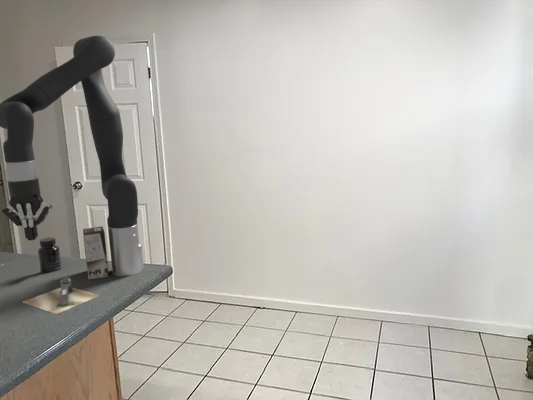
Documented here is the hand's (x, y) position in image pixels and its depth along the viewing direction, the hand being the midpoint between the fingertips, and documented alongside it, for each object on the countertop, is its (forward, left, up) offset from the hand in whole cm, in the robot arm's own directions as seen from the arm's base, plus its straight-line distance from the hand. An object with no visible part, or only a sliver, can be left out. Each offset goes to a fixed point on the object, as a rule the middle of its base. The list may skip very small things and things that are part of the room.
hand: (32, 239), depth 131 cm
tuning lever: (-5, +5, -18) cm, 19 cm away
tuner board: (-4, +4, -20) cm, 20 cm away
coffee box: (-23, -4, -20) cm, 30 cm away
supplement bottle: (-18, -22, -20) cm, 34 cm away
